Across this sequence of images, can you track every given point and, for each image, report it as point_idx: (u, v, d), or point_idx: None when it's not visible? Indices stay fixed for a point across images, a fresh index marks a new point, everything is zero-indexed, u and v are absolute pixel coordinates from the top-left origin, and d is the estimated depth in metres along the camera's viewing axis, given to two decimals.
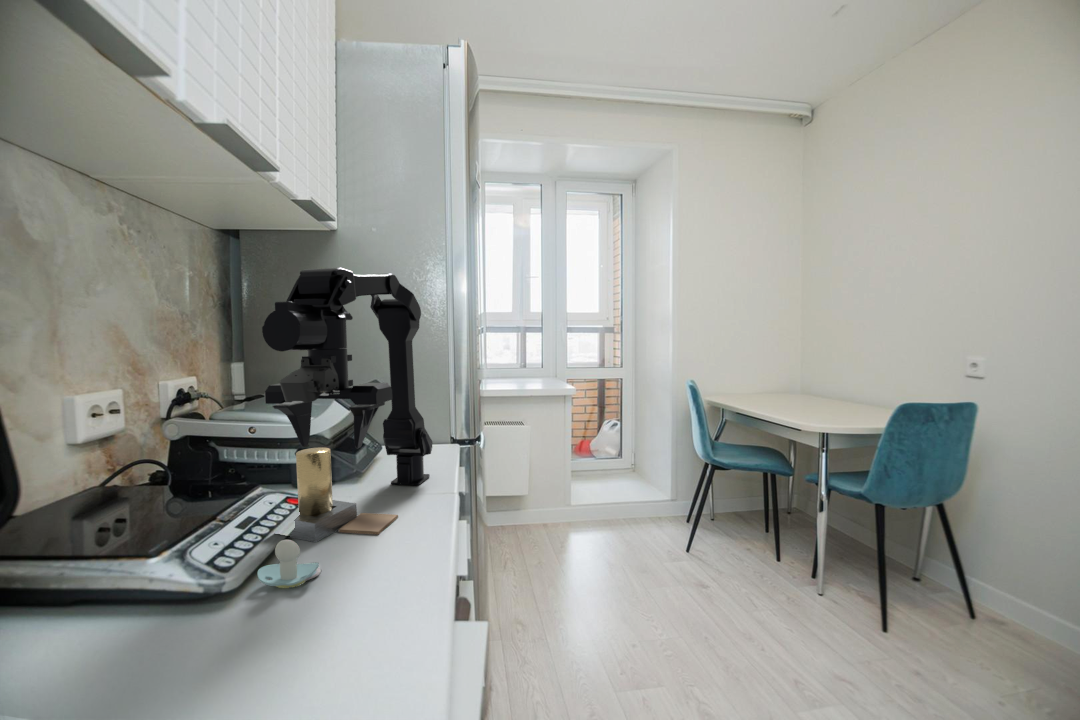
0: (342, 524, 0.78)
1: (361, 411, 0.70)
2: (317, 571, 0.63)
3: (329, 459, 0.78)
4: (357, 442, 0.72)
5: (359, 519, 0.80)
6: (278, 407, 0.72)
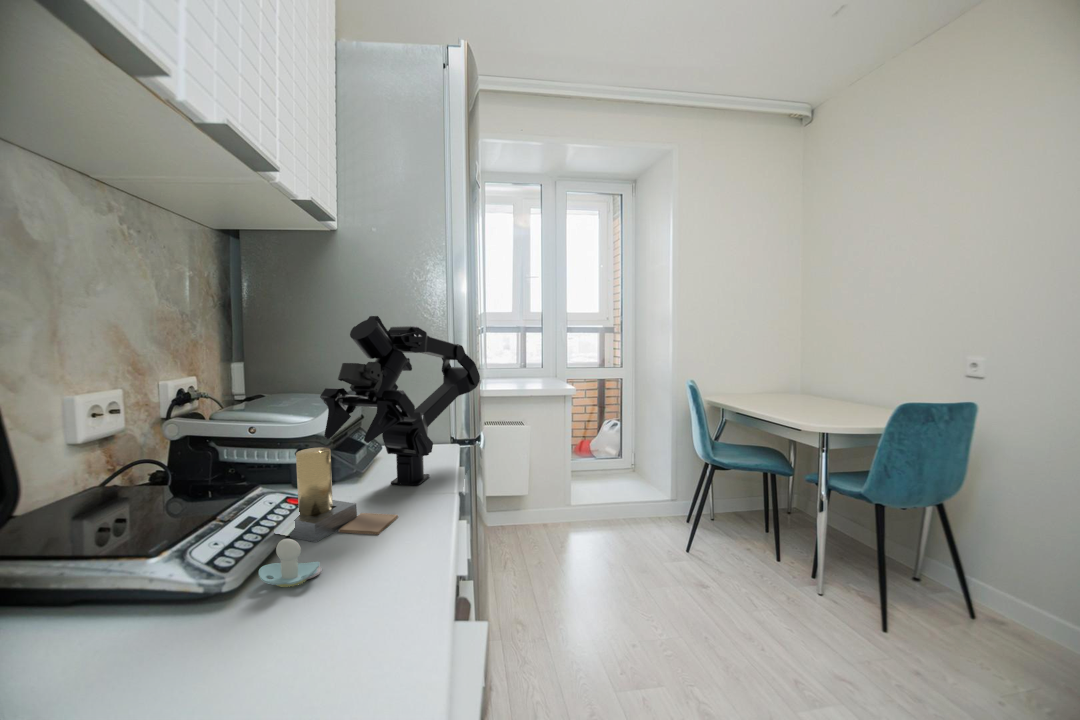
0: (342, 524, 0.78)
1: (384, 406, 0.84)
2: (318, 570, 0.63)
3: (329, 459, 0.78)
4: (368, 434, 0.83)
5: (359, 519, 0.80)
6: (327, 399, 0.89)
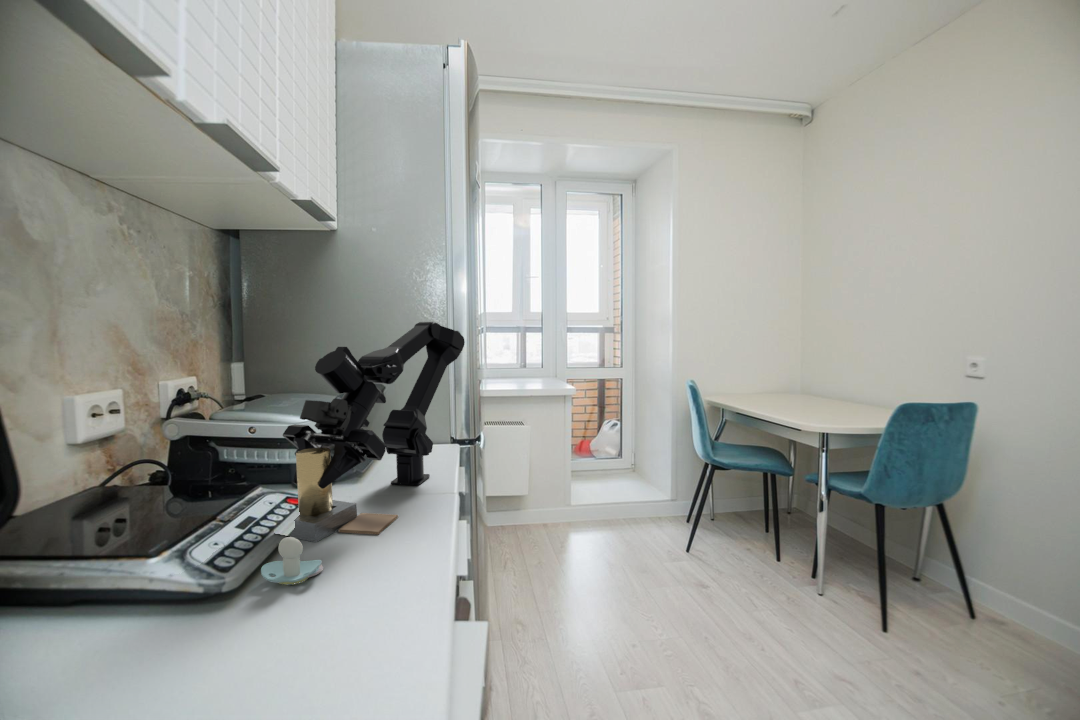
0: (342, 524, 0.78)
1: (342, 447, 0.77)
2: (320, 568, 0.64)
3: (329, 459, 0.78)
4: (323, 479, 0.76)
5: (359, 519, 0.80)
6: (297, 439, 0.81)
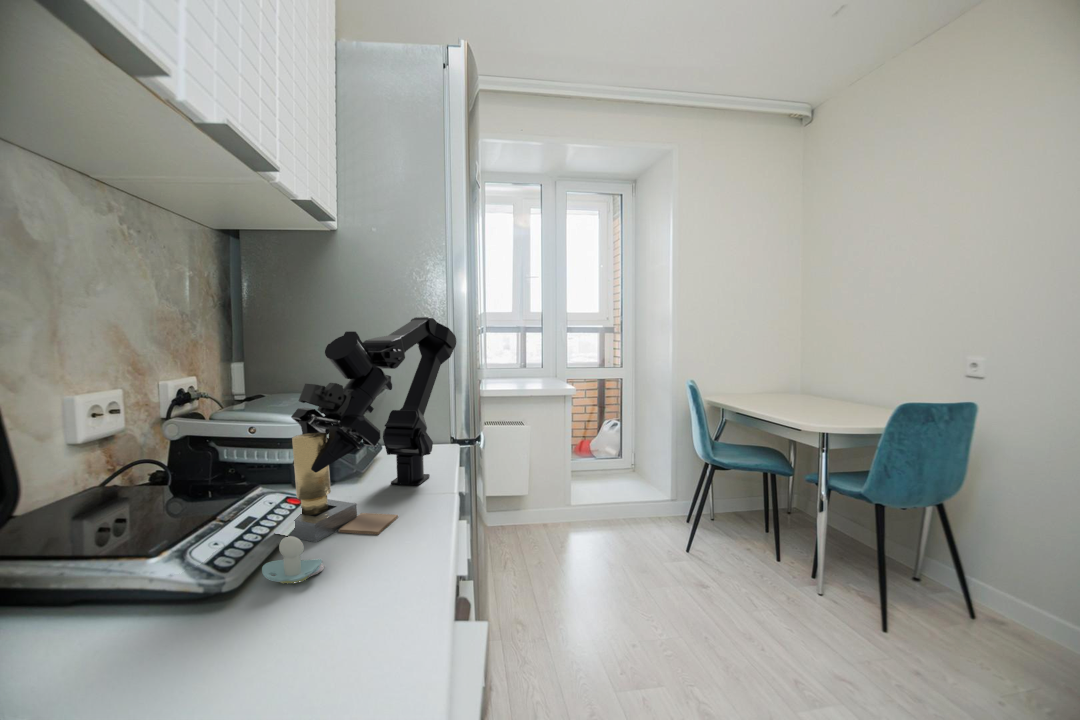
0: (342, 524, 0.78)
1: (334, 432, 0.76)
2: (321, 567, 0.64)
3: (324, 443, 0.78)
4: (315, 463, 0.75)
5: (359, 519, 0.80)
6: (301, 422, 0.82)
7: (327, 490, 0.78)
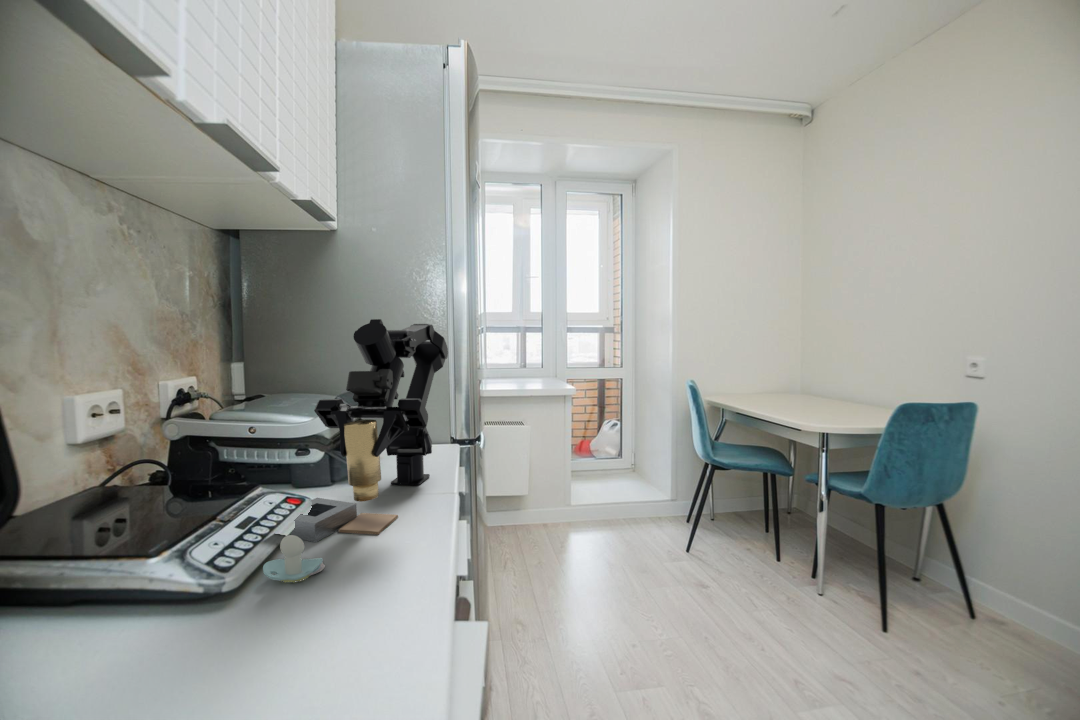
0: (342, 524, 0.78)
1: (393, 416, 0.79)
2: (321, 566, 0.64)
3: None
4: (377, 448, 0.77)
5: (359, 519, 0.80)
6: (336, 412, 0.80)
7: (380, 474, 0.80)
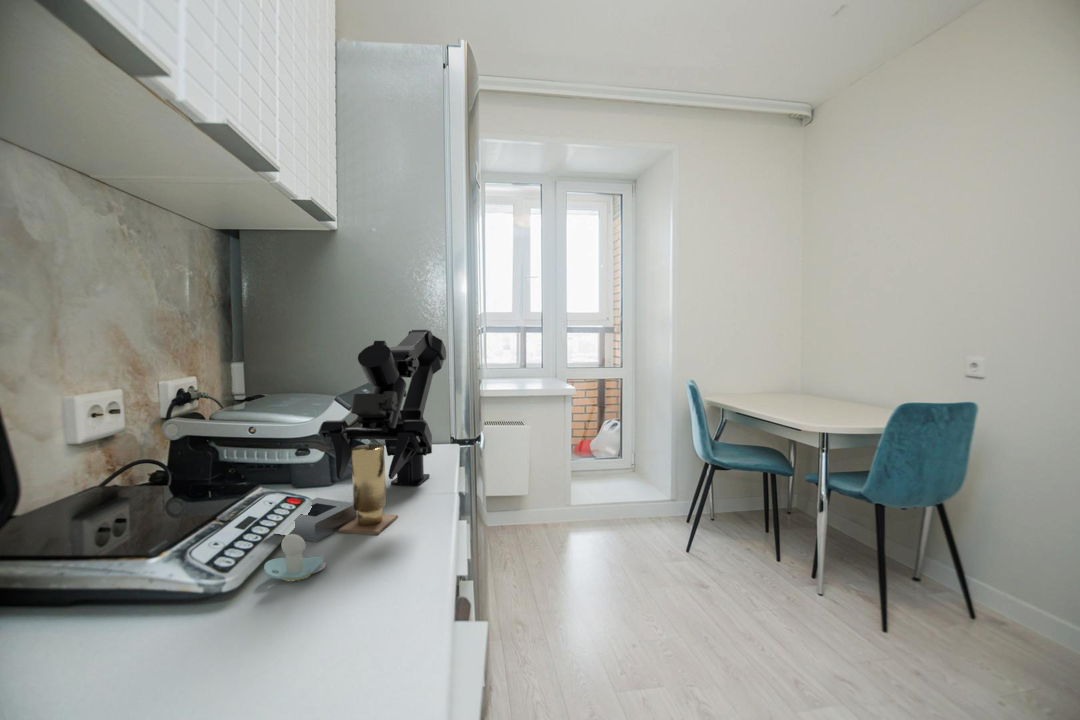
0: (342, 524, 0.78)
1: (407, 437, 0.80)
2: (322, 565, 0.64)
3: None
4: (392, 470, 0.77)
5: None
6: (332, 434, 0.80)
7: (385, 499, 0.80)
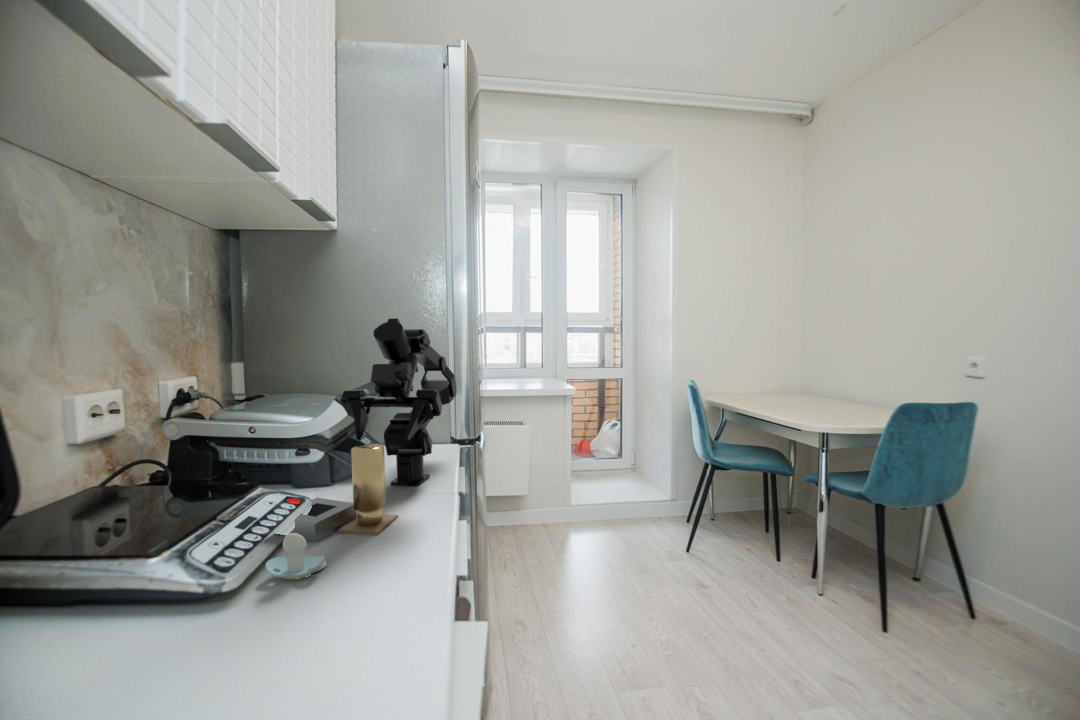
0: (342, 524, 0.78)
1: (421, 404, 0.88)
2: (323, 564, 0.65)
3: None
4: (408, 432, 0.86)
5: None
6: (351, 401, 0.89)
7: (385, 499, 0.80)
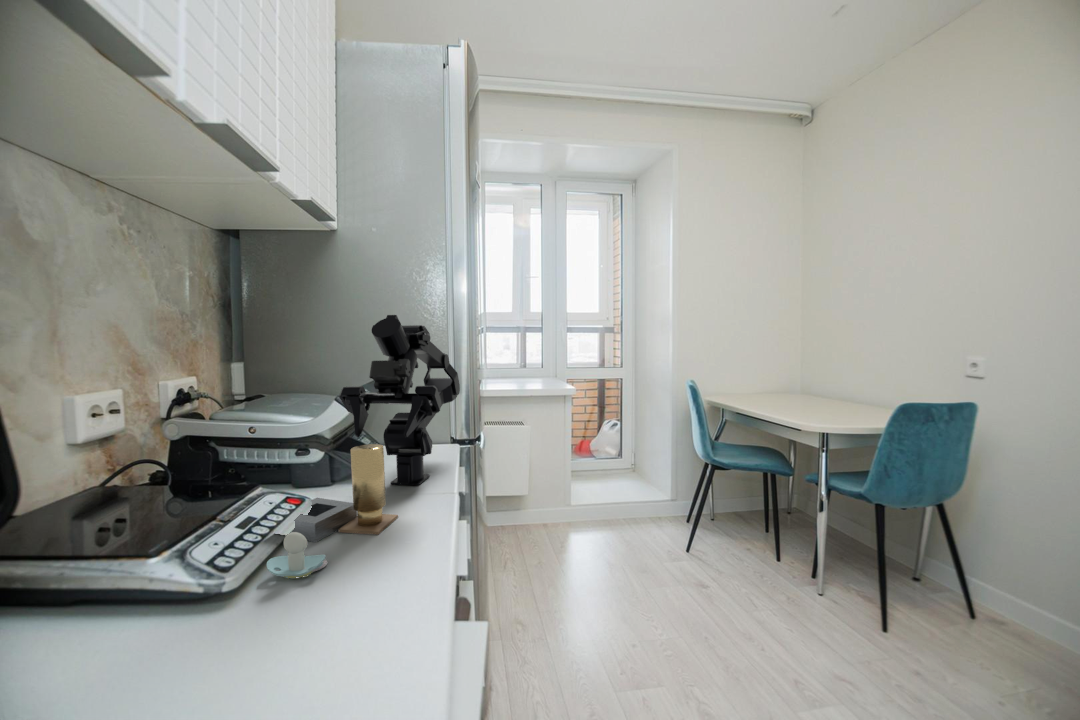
0: (342, 524, 0.78)
1: (420, 400, 0.88)
2: (324, 563, 0.65)
3: (383, 454, 0.79)
4: (407, 429, 0.86)
5: None
6: (350, 397, 0.89)
7: (385, 499, 0.80)
